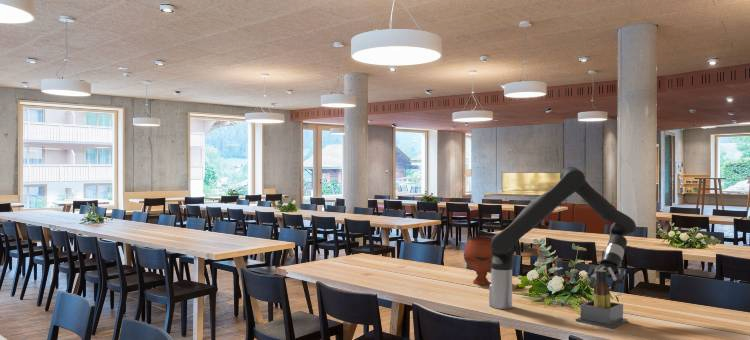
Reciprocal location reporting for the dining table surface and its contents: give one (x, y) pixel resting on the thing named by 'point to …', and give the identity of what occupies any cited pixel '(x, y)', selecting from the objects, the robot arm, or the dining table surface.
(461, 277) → the dining table surface
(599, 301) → the sauce bottle
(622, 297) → the dining table surface
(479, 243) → the goblet
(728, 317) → the dining table surface
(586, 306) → the box
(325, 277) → the dining table surface
